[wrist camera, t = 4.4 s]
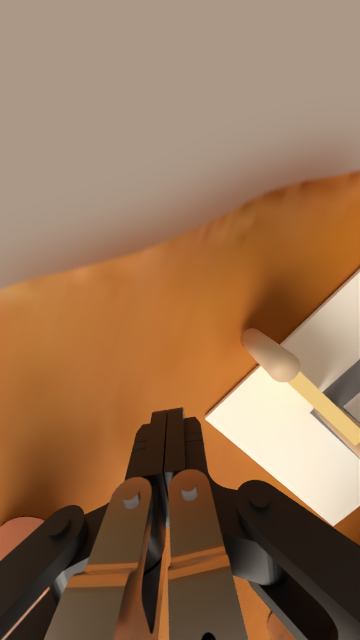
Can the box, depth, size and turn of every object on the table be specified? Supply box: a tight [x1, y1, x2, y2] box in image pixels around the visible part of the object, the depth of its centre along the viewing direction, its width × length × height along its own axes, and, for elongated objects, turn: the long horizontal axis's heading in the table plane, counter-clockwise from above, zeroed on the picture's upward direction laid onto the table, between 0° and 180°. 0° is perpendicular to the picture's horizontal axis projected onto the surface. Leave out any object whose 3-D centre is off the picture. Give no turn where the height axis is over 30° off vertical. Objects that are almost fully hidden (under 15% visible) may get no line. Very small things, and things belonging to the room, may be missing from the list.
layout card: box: [205, 268, 360, 526], centre depth 20 cm, size 18×20×1 cm
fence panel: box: [241, 328, 360, 446], centre depth 16 cm, size 9×2×6 cm, turn 47°
